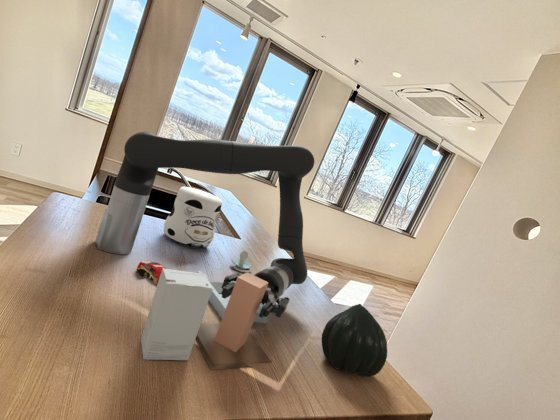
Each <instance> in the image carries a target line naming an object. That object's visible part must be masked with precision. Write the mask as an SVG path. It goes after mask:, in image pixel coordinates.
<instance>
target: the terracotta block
mask: <svg viewBox="0 0 560 420" xmlns="http://www.w3.org/2000/svg"><path fill="white" fill-rule="evenodd" d="M254 275H255V274H252V273H251V272H249V273H248V272H247V273H245V272H244V273H243V274H240V276H239V277H237V280H236V283H235V285H234V288H233V291H232V293H231V296H230V299H229V302H228V304H227V307H226V310H225V312H224V315H223V318H221V321H220V323H219V324H220V326H219V328H218V331H217V334H216V336H215V339H214V341H216V342H218V343H219V344H221V345H223V346H225V347H226V348H228V349H230V350H232V351H234V352H235V353H236V352H237V351H238V350H239V349H240V348H241V347H242V346H243V345H244V344H245V343H246V340H247V337H248V335H249V332H250V333H251V330H252V326H253V324H254V323H255V322H254V319H255V317H256V314H257V311H258V309H259V306H260V304H261V301H262V298H263V296H264V293H265V291H266V288H267V286H268V283H269V282H267V281H265V280H262V279H260V278H258V277H256V276H254Z"/></svg>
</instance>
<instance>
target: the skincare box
mask: <svg viewBox="0 0 560 420" xmlns="http://www.w3.org/2000/svg"><path fill="white" fill-rule="evenodd" d="M208 280H209V279H208V277H207V275H206V273H203V274H202V273H197V272H192V271H183V270H177V269H170V268H169V269H168V268H166V269H164V268H163V269H162V272H161V275H160V278H159V281H158V284H156V285H157V286H156V288H155V292H154V295H153V299H152V301H151V304H150V308H149V310H148V314H147V318H146V321H145V324H144V327H143V328H144V329H143V331H142V334H141V338H140V343H141V352H142V359H143V360H149V361H150V360H155V361H156V360H158V361H160V360H161V361H189V359H190V357H191V354H192V351H193V347H194V344H195V342H196V340H195V339H196V336H197V333H198V330H199V327H200V324H201V323H203V322H202V321H203V319H204V315H205V312H206V310H207V306H208V304H209V302H210V301H209V298H210V295H211V293H212V290H213V288H212V287H211V285H210V283H209V281H210V280H209V281H208Z"/></svg>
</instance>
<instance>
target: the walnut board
mask: <svg viewBox="0 0 560 420" xmlns="http://www.w3.org/2000/svg"><path fill="white" fill-rule="evenodd" d="M219 326H220V323H207V322H206V323H203V322H201V324H200V327H199V330H198V333H197V336H196V339H195V342H196V343H197V346H198V348H199V349H200V351H201V353H202V354H203V356H204V358H205V360H206V362H207V365H208V366H209V368H210V370H213V371H214V370H229V369H231V370H232V369H247V368H248V369H251V368H253V367H252V366H250V365H248V364H262V363H263V364H267V363H268V364H270V363H272V360H271V359H270V357H269V356H268V355H267V353H266V352H265V351H264V349H263V348H262V347H261V345H260V344H259V343H258V341H256V339H255V338H254V336H253V335H252V334H251V331H250V332H249V335H248V337H247V340H246V343H245V344H244V345H243V346H242V347H241V348H240V349H239V350H238V351H237V352H236V353H235V352H234V351H232V350H230V349H228V348H226V347H225V346H223V345H221V344H219V343H218V342H216V341H214V339H215V336H216V334H217V331H218V328H219Z"/></svg>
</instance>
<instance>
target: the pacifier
mask: <svg viewBox="0 0 560 420" xmlns="http://www.w3.org/2000/svg"><path fill="white" fill-rule="evenodd" d="M248 258H249V253H248V251H246V250H242V251H241V252H240V255H239V261H238V262H236V261H235V260H233V259H231V262H232V263H233V264H234V265H235V266H234V267H233V269H234V270H236V271H237V272H241V273H244V274H245V273H247V272H248V273H251V272H252V270H251V269H250V268H251V267H252V263H251V262H249V261H246V260H247V259H248Z"/></svg>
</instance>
